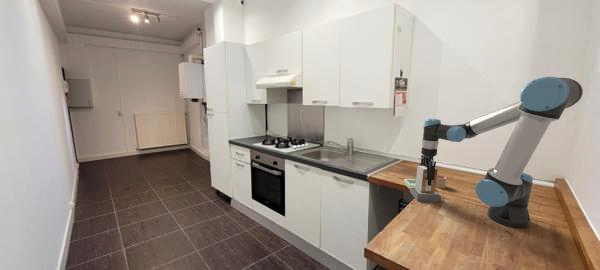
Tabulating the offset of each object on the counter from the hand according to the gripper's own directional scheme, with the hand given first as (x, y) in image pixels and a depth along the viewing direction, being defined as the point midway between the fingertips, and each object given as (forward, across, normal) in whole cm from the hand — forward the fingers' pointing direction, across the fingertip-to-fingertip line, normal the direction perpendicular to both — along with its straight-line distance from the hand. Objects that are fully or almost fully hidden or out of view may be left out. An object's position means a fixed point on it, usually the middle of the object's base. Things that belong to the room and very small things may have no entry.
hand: (425, 187), depth 136 cm
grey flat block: (+5, 0, 0) cm, 5 cm away
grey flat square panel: (+2, 0, 0) cm, 2 cm away
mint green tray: (+5, +15, -2) cm, 16 cm away
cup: (+5, +17, -15) cm, 23 cm away
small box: (+1, 0, 0) cm, 1 cm away
